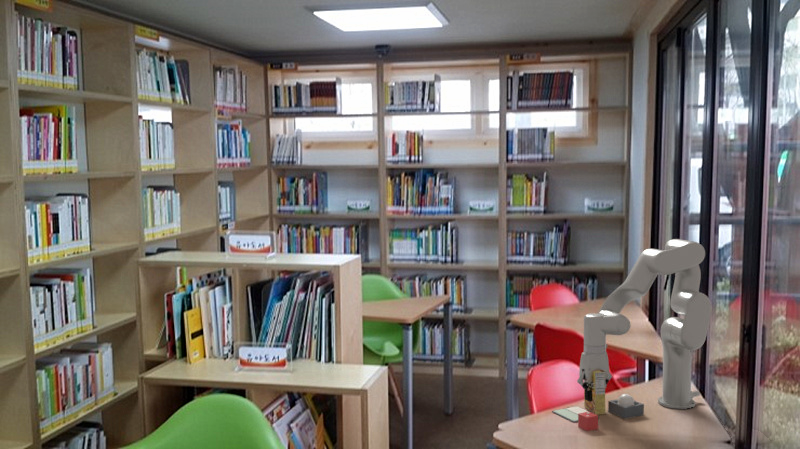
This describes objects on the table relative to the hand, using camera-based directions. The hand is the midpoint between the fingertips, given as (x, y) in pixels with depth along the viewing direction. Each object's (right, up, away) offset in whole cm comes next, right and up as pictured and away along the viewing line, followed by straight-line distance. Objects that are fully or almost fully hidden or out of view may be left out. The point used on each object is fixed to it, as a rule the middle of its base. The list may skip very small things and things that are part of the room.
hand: (594, 398), depth 250 cm
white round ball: (+10, -3, -3) cm, 11 cm away
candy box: (0, -5, +1) cm, 5 cm away
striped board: (-8, -5, -3) cm, 10 cm away
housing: (+10, -4, -3) cm, 11 cm away
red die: (-7, -6, -16) cm, 18 cm away
